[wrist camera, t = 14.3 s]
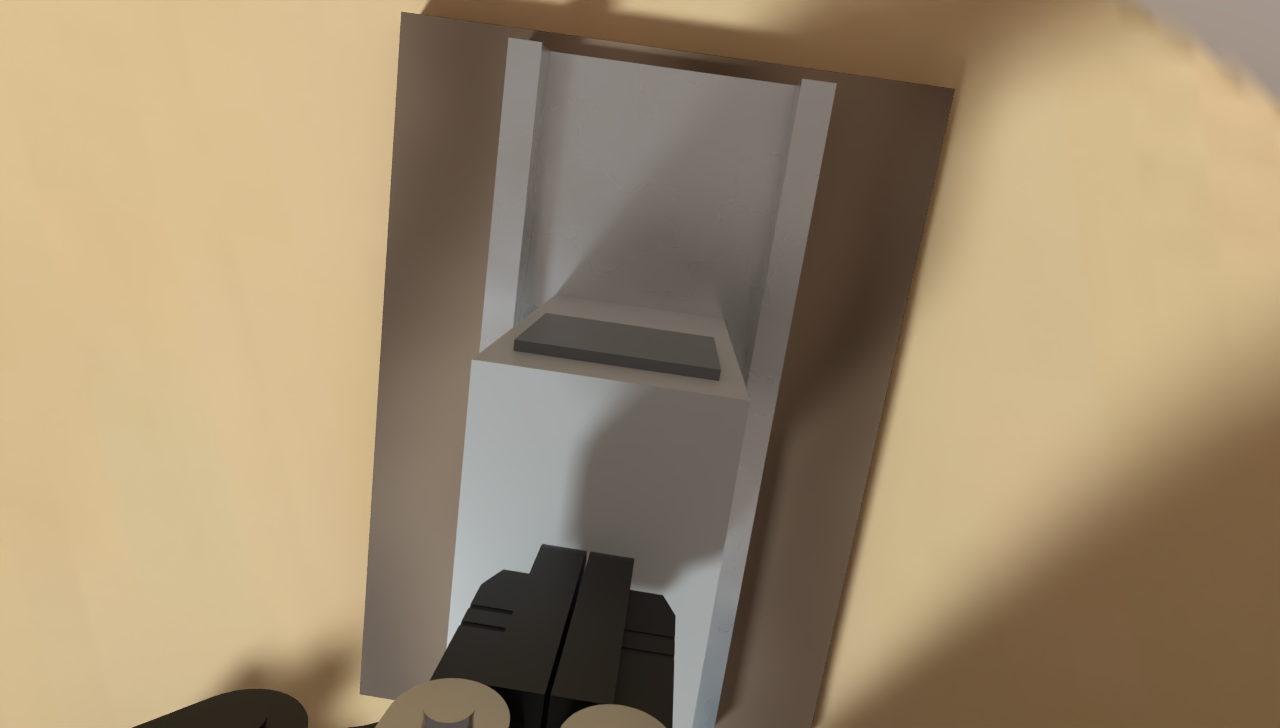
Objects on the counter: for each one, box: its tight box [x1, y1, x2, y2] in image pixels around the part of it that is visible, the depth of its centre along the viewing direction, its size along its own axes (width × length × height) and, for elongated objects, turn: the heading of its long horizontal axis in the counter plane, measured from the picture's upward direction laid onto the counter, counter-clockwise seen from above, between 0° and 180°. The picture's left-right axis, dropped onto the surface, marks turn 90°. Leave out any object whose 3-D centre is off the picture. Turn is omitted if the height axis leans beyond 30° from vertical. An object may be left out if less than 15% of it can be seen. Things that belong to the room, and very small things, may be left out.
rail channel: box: [479, 38, 837, 728], centre depth 20 cm, size 8×19×2 cm, turn 172°
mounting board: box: [360, 12, 955, 728], centre depth 21 cm, size 14×20×1 cm
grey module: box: [446, 295, 750, 728], centre depth 16 cm, size 4×7×8 cm, turn 172°
